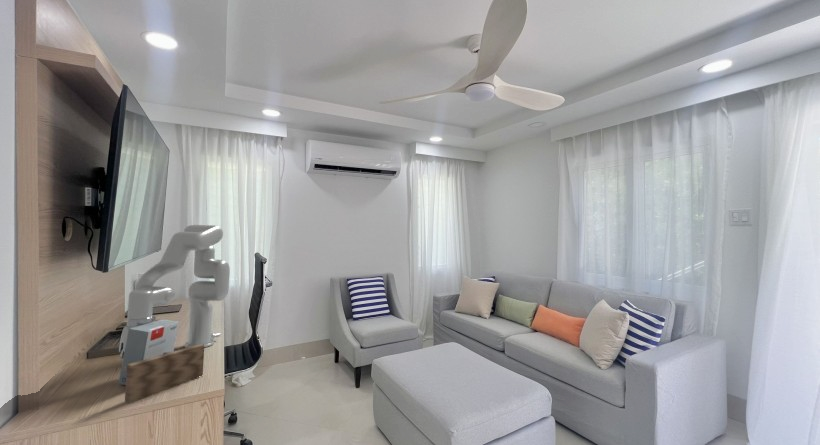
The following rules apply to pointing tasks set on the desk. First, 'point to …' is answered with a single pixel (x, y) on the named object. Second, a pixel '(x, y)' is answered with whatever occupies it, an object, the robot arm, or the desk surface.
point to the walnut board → (163, 372)
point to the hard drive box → (148, 343)
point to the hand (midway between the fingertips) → (136, 369)
